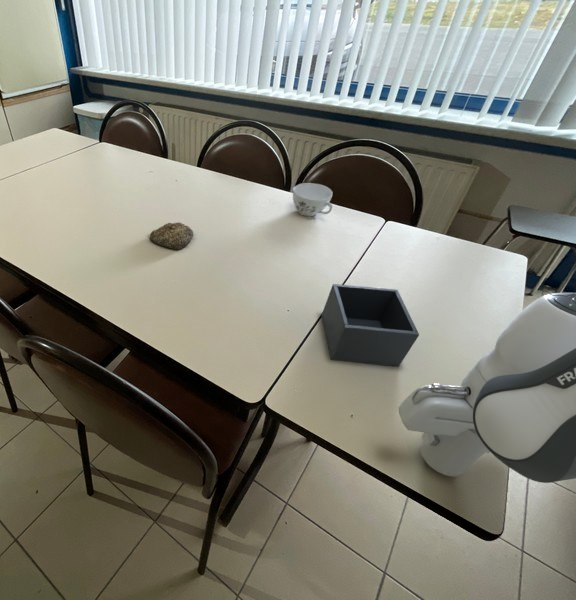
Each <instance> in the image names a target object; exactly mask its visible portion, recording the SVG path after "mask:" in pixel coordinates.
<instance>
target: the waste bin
mask: <svg viewBox="0 0 576 600" xmlns="http://www.w3.org/2000/svg"><path fill="white" fill-rule="evenodd" d="M320 317H321V321H322V325H323V330H324V334H325V338H326V343H327V347H328V352H329V356H330V360H332V361H340V362H349V363H359V364H367V365H377V366H385V367H394V368H395V367H396V368H399V367H400V365H401V364H402V363H403V361H404V359H405V358H406V356H407V355H408V353H409V351H410V350H411V348H412V347H413V346H414V344H415V343H416V341H417V339H418V338H419V336H420V332H419V330H418V329H417V327H416V325H415V322H414V321H413V319H412V317H411V314H410V312H409V310H408V309H407V306H406V304H405V302H404V300H403V298H402V296H401V294H400V292H399V290H398V289H396V288H383V287H372V286H361V285H350V284H339V283H333V284H332V286H331V288H330V291H329V293H328V296H327V299H326V302H325V305H324V307H323V310H322V313H321V315H320Z"/></svg>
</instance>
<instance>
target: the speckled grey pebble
mask: <svg viewBox="0 0 576 600" xmlns="http://www.w3.org/2000/svg"><path fill="white" fill-rule="evenodd" d="M193 236H194V230H193V229H192V228H191V227H190V226H188V225H185V224H184V223H182V222H179V221H178V222H173V223H171V222H168V223H165V224H164V225H162V226H160V227H159V228H157V229H153V230H152V231H151V232H150V234H149V239H150V240H151V241H152V242H154V243H155V244H157V245H159V246H161V247H164V248H169V249H173V250H180V249H183V248H184V247H186V246H187V245H189V244H190V243H191V241H192V239H193Z"/></svg>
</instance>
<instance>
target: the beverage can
mask: <svg viewBox="0 0 576 600" xmlns="http://www.w3.org/2000/svg"><path fill="white" fill-rule="evenodd" d="M437 436H438V439H439V440H440V442H439V443H438V444H437V445H436V446H433V445H425V444H424V441H423V440H422V442H421V444H420V454H421V456H422V458H423V460H424V461H425V463H427V465H428V466H429V467H431V468H432V469H433V470H434V471H435V472H438V473H439V474H441V475H444V476H447V477H458V476H461V475H462V474H463V473H465V471H467V470H468V469H469V468H470V467H471V466H472V465H473V464H474V463H475V462H477V461H478V460H479V459H481V457H482V456H484V455H485V454H486V453H485V452H487V451H488V449H487V448H486V447H485V445H484V444H483V443H482V441H481V440H480V438H479V436H478V434H477V432H476V431H474V430H469V429H467V431H465V432H462V433H459V435H457V436H448V435H441V434H439V435H437Z"/></svg>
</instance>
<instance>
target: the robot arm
mask: <svg viewBox="0 0 576 600" xmlns="http://www.w3.org/2000/svg"><path fill="white" fill-rule="evenodd" d="M398 414H399V417H400V419H401V421H402V424H403V426H404V427H405V429H406V430H408V431H411V432H419V433H422V435H421V438H422V442H423V441H424V444H425V445H433V446H436V445H437V444H438V443H439V442H440V440H439V439H438V436H437V435H439V434H441V435H448V436H457V435H459V433H462V432H465V431H467V429H469V430H474V431H476V432H477V434H478V436H479V438H480V440H481V441H482V443H483V444H484V445H485V447H486V448H487V449H488V451H487V452H485V453H484V454H489V453H491V454H492V455H493V456H494V457H495V458H496V459H497V460H499V461H500V462H501V463H502V464H504V465H505V466H507V468H509V469H511V470H512V471H514V472H515V473H517V474H519V475H520V476H522V477H524V478H526V479H528V480H530V481H533V482H537V483H544V484H550V483H556V482H562V481H569V480H575V479H576V292H554V293H548V294H544V295H542V296H540V297H538V298H537V299H535V300H533V301H532V302H531V303H530V304H528V305H527V306H526V307H524V309H523V310H521V311H520V312H519V313H518V314H517V315H516V316H515V317H514V318H513V319H512V320H511V322H510V323H509V324H508V325H507V326H506V327H505V328H504V330H502V332H501V333H500V335H498V337H497V338H496V342H495V345H494V348H493V349H491V350H490V351H488V352H486V353H484V354H483V355H482V356H481V357H480V359H478V361H477V362H476V363H475V364H474V365H473V367H472V368H471V370H470V371H469V372H468V373H467V374H466V376H464V378H463V379H462V381H461V385H460V386H459V385H444V384H441V383H432V384H425V385H422V386H419V387H418V388H416V389H415V390H414V391H412V392H411V393H410V394H409V395H408V396H407V397H406V398H405V399H404V400H403V401H402V402H401V403H400V405H399V406H398Z"/></svg>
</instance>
